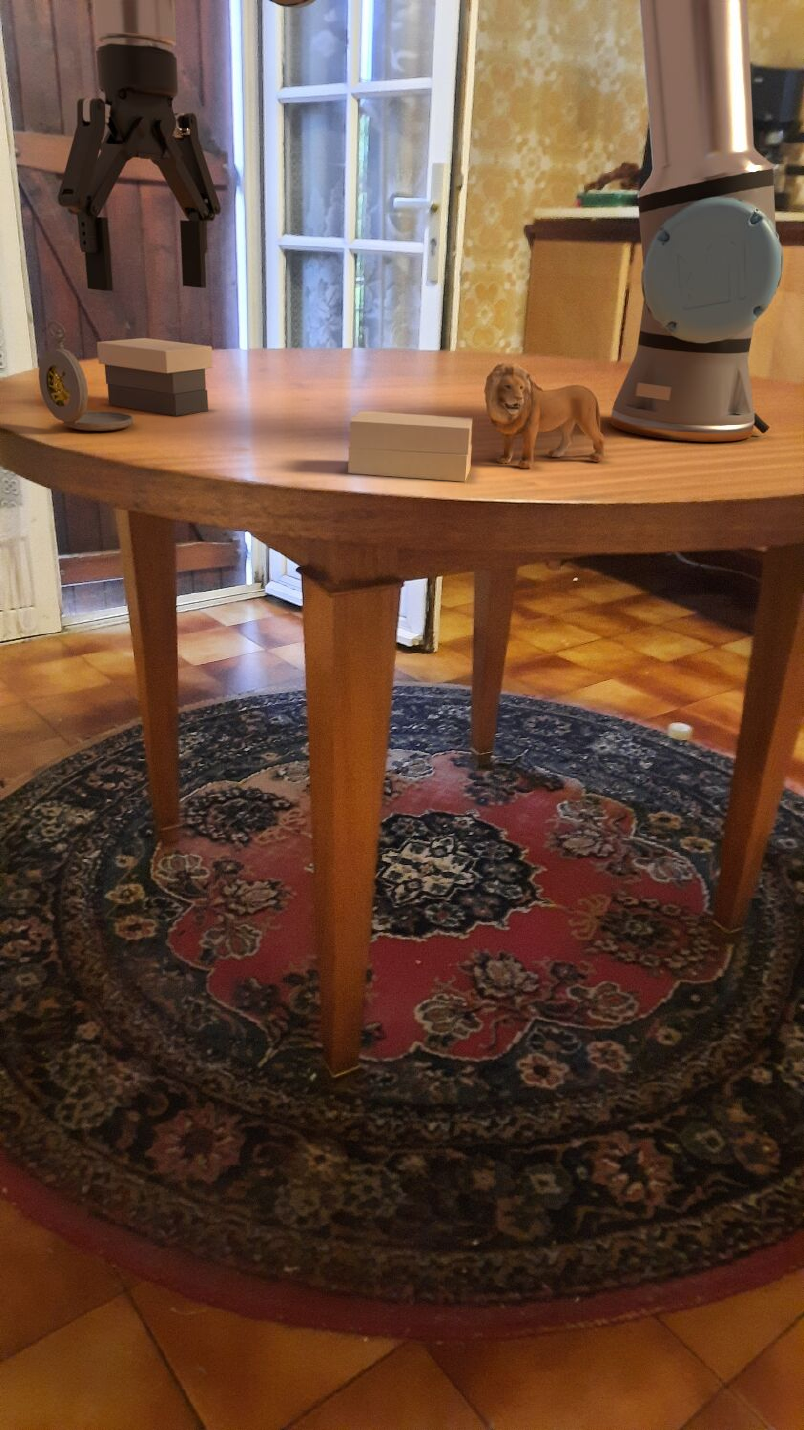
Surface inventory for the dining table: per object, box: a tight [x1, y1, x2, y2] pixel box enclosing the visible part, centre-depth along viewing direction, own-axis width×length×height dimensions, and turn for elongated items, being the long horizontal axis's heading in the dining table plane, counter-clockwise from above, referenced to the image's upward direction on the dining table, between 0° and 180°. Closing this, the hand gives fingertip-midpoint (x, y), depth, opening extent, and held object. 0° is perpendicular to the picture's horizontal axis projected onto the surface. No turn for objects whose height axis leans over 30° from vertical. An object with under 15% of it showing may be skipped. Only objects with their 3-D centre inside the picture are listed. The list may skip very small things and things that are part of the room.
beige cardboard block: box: [347, 410, 474, 483], centre depth 87 cm, size 10×5×4 cm, turn 82°
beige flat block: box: [96, 337, 213, 373], centre depth 109 cm, size 10×7×2 cm
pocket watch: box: [38, 320, 134, 432], centre depth 97 cm, size 8×8×10 cm
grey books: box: [104, 364, 209, 417], centre depth 111 cm, size 10×5×4 cm, turn 58°
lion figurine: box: [483, 361, 605, 470], centre depth 92 cm, size 15×5×9 cm, turn 127°
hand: (149, 288), depth 106 cm, fingers open, 13 cm apart
